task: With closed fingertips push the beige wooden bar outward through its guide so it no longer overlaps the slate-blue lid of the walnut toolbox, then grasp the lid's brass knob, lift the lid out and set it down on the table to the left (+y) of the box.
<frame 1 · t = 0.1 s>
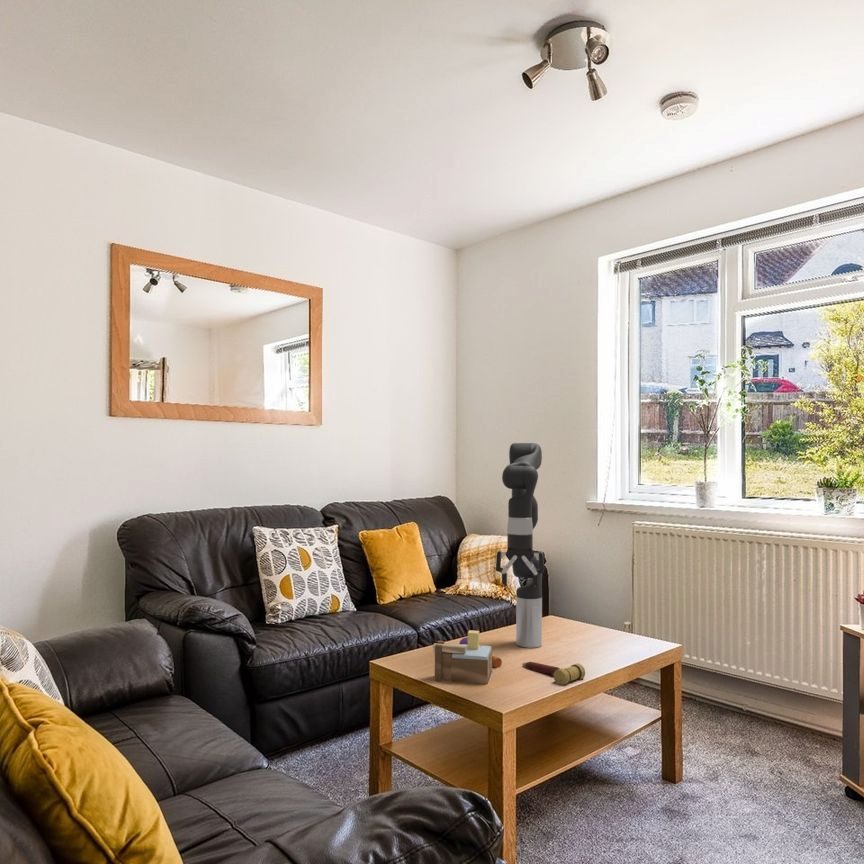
hand: (519, 586, 201), 29 cm above the table, fingers open, 8 cm apart
toolbox: (472, 676, 207), on the table
lid: (472, 653, 208), point 7 cm above the table, touching toolbox
kendama: (479, 660, 225), on the table
beige wooden bar: (449, 648, 205), point 9 cm above the table, slide at 0.0 cm
gavel: (548, 675, 211), on the table
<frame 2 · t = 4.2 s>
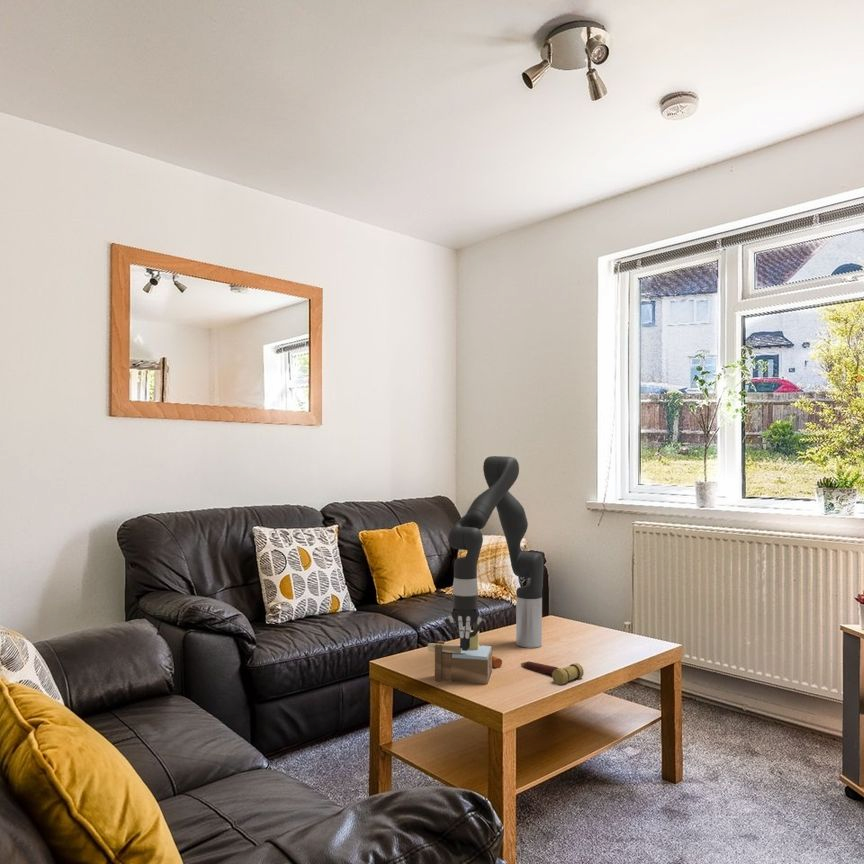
hand: (464, 649, 204), 9 cm above the table, fingers closed
beige wooden bar: (444, 648, 205), point 9 cm above the table, slide at 1.5 cm, touching gripper
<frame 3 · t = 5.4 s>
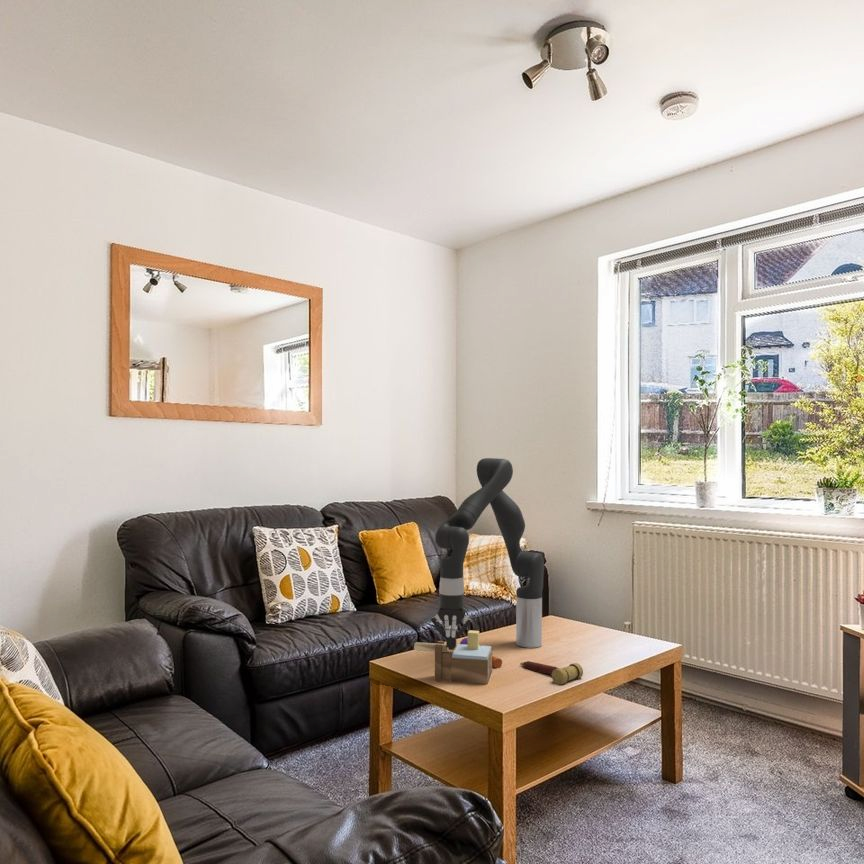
hand: (451, 649, 205), 9 cm above the table, fingers closed
beige wooden bar: (430, 647, 206), point 9 cm above the table, slide at 5.7 cm, touching gripper
everything else where it was.
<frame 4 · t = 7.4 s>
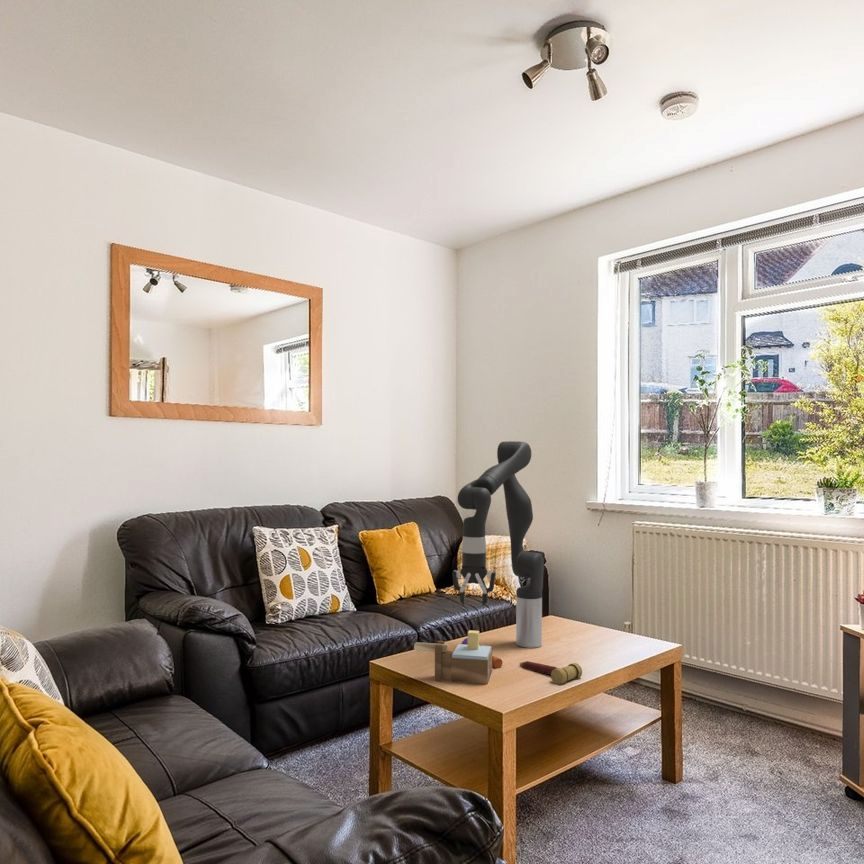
hand: (473, 604, 211), 22 cm above the table, fingers open, 6 cm apart
beige wooden bar: (430, 647, 206), point 9 cm above the table, slide at 5.8 cm
everything else where it was.
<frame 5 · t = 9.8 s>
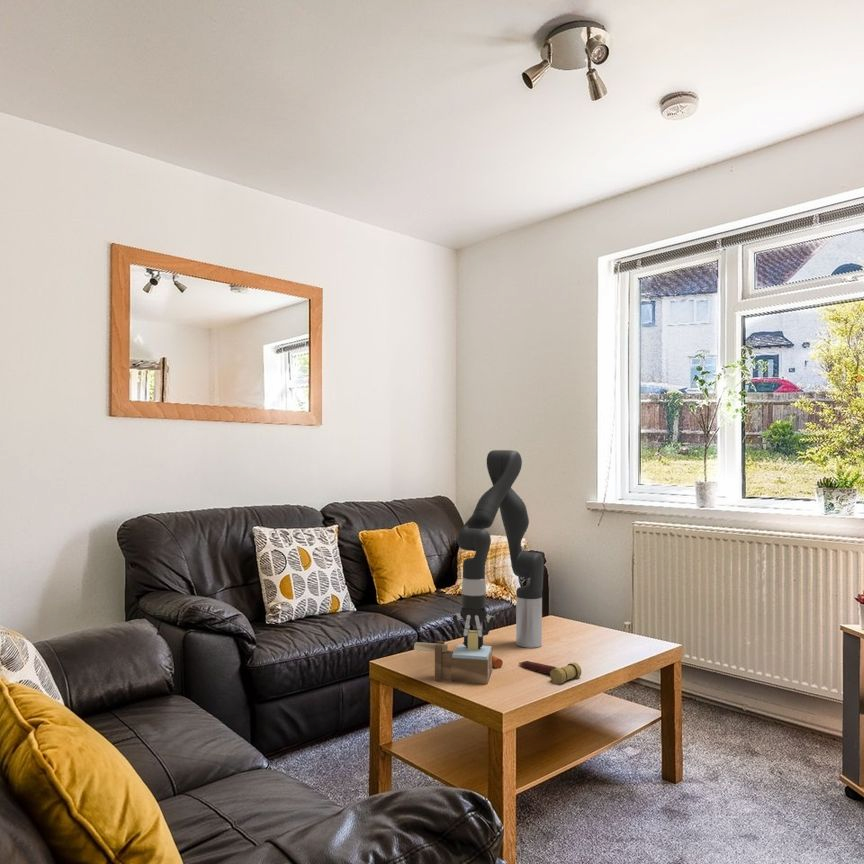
hand: (473, 647, 210), 8 cm above the table, fingers closed on lid, 3 cm apart
lid: (472, 653, 208), point 7 cm above the table, touching gripper, toolbox
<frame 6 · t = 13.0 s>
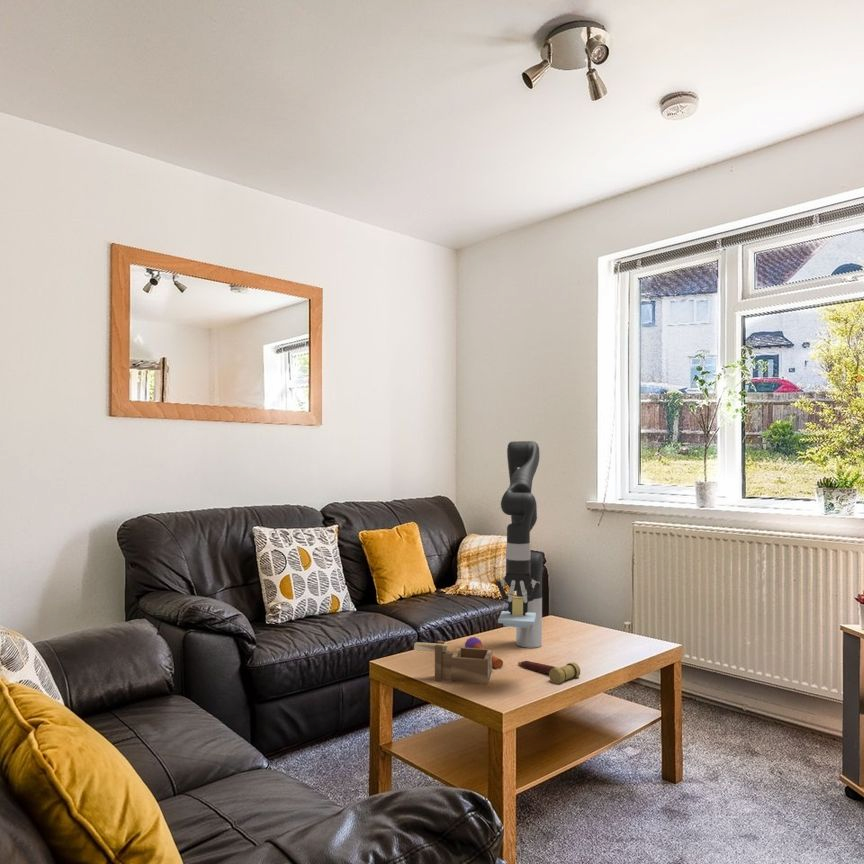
hand: (517, 613, 206), 20 cm above the table, fingers closed on lid, 3 cm apart
lid: (517, 619, 203), point 19 cm above the table, touching gripper
when the fingers open (3 cm above the table, at t = 16.2 s): lid stays where it is, point 1 cm above the table.
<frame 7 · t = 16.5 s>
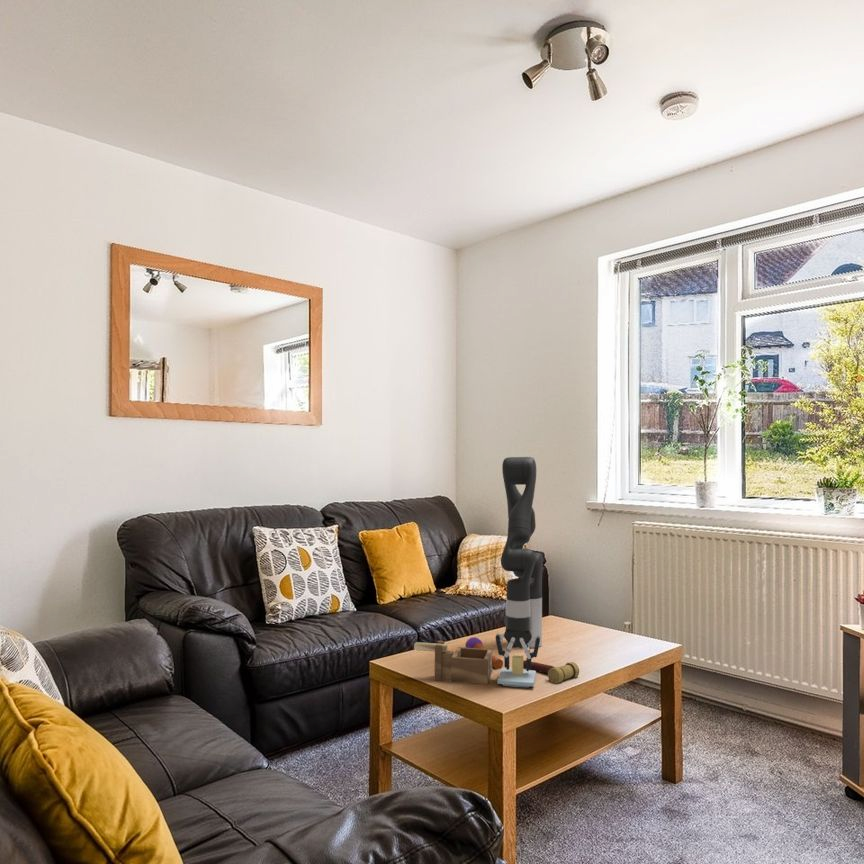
hand: (517, 669, 205), 3 cm above the table, fingers open, 5 cm apart
lid: (517, 678, 203), point 1 cm above the table
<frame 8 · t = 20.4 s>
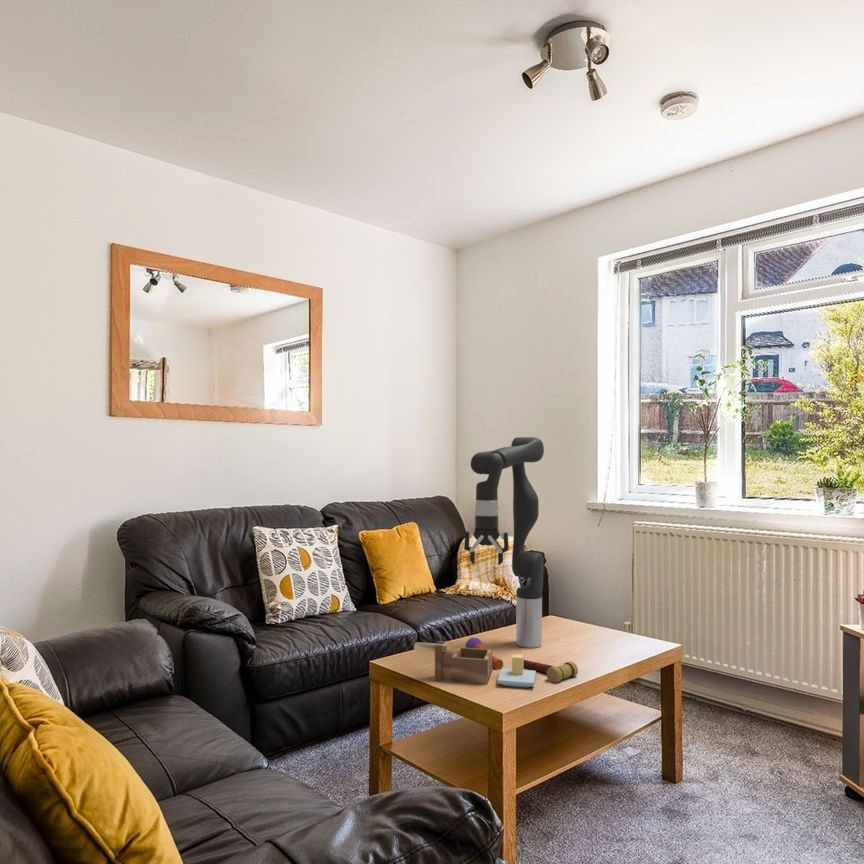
hand: (486, 564, 218), 33 cm above the table, fingers open, 8 cm apart
at the end: beige wooden bar slide at 5.8 cm; lid inside the target area (0.1 cm from its centre), point 0.9 cm above the table; lid tilted 0° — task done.
